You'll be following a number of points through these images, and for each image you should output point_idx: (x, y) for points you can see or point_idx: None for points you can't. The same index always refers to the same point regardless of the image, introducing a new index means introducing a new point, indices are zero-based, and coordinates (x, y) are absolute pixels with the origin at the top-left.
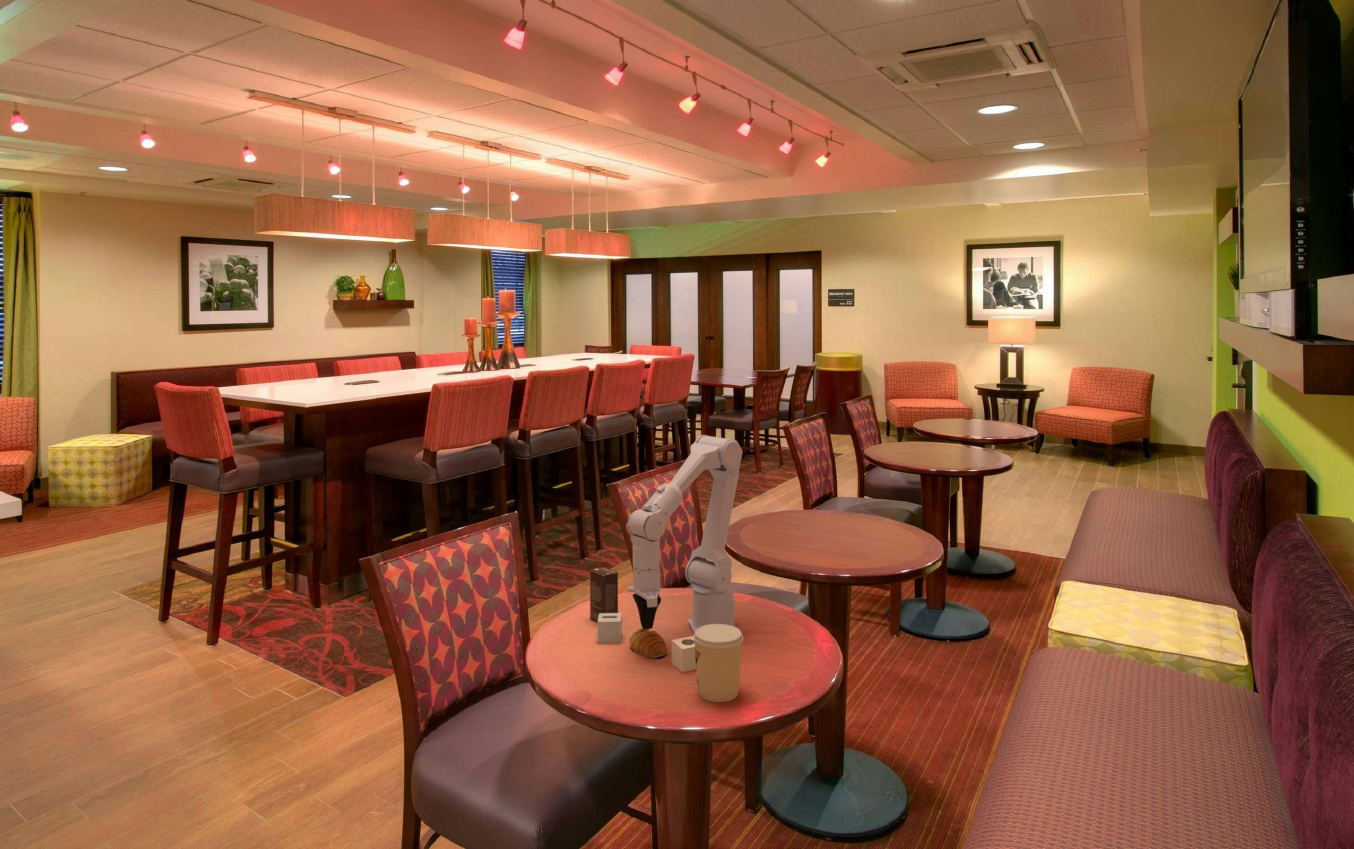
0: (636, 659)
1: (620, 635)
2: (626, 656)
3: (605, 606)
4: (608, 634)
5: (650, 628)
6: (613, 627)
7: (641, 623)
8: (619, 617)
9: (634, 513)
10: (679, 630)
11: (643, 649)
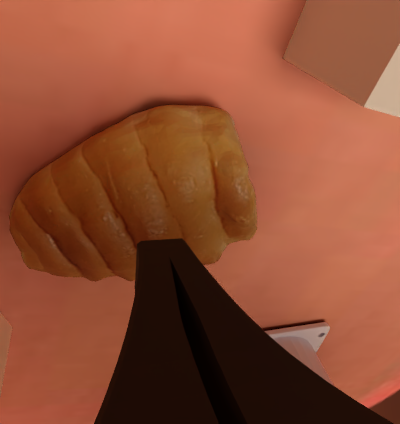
0: (16, 100)
1: (305, 70)
2: (74, 46)
3: None
4: None
5: (135, 282)
6: (364, 33)
7: (142, 267)
8: None
9: None
10: (279, 298)
11: (59, 168)
